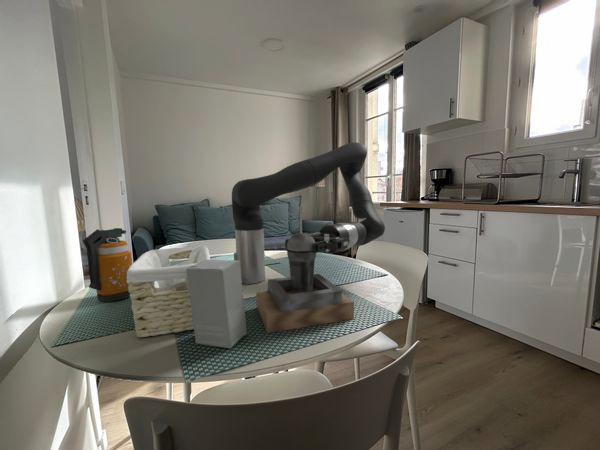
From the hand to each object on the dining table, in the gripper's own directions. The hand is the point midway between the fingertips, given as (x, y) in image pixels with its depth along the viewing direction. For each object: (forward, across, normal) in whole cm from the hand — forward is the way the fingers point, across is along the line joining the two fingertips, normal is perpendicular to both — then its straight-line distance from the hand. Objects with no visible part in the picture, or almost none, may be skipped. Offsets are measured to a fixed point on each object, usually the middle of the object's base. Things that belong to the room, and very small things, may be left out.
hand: (299, 246), depth 66 cm
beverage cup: (-1, 0, +13) cm, 13 cm away
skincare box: (+19, -5, +17) cm, 26 cm away
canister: (+26, -48, +17) cm, 57 cm away
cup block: (-1, 0, +16) cm, 17 cm away
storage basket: (+19, -23, +17) cm, 34 cm away
